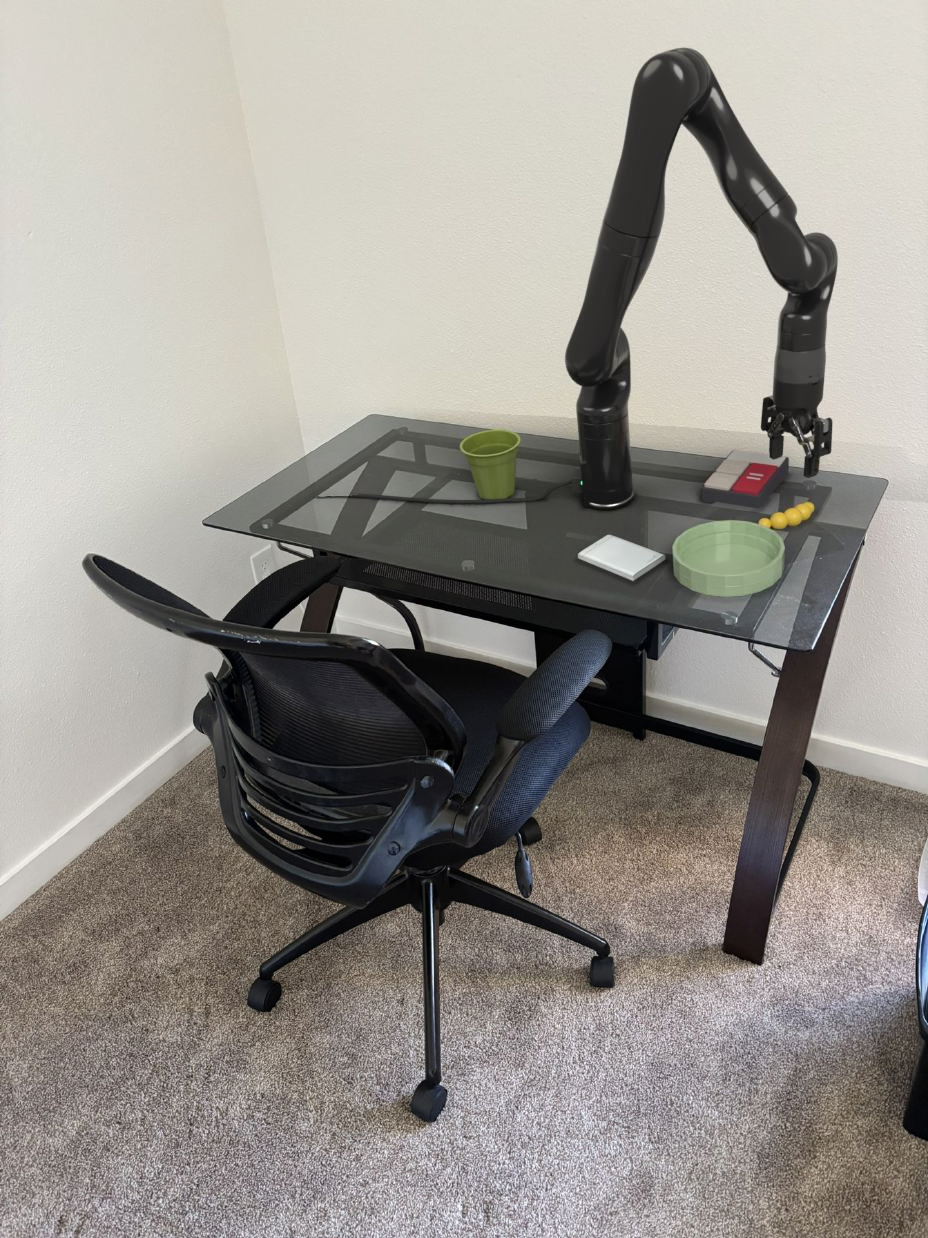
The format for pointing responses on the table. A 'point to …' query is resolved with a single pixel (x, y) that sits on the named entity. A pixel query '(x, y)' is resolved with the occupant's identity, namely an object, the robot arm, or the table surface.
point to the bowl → (728, 558)
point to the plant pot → (492, 462)
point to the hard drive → (621, 557)
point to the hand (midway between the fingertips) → (792, 466)
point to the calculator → (745, 479)
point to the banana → (789, 516)
